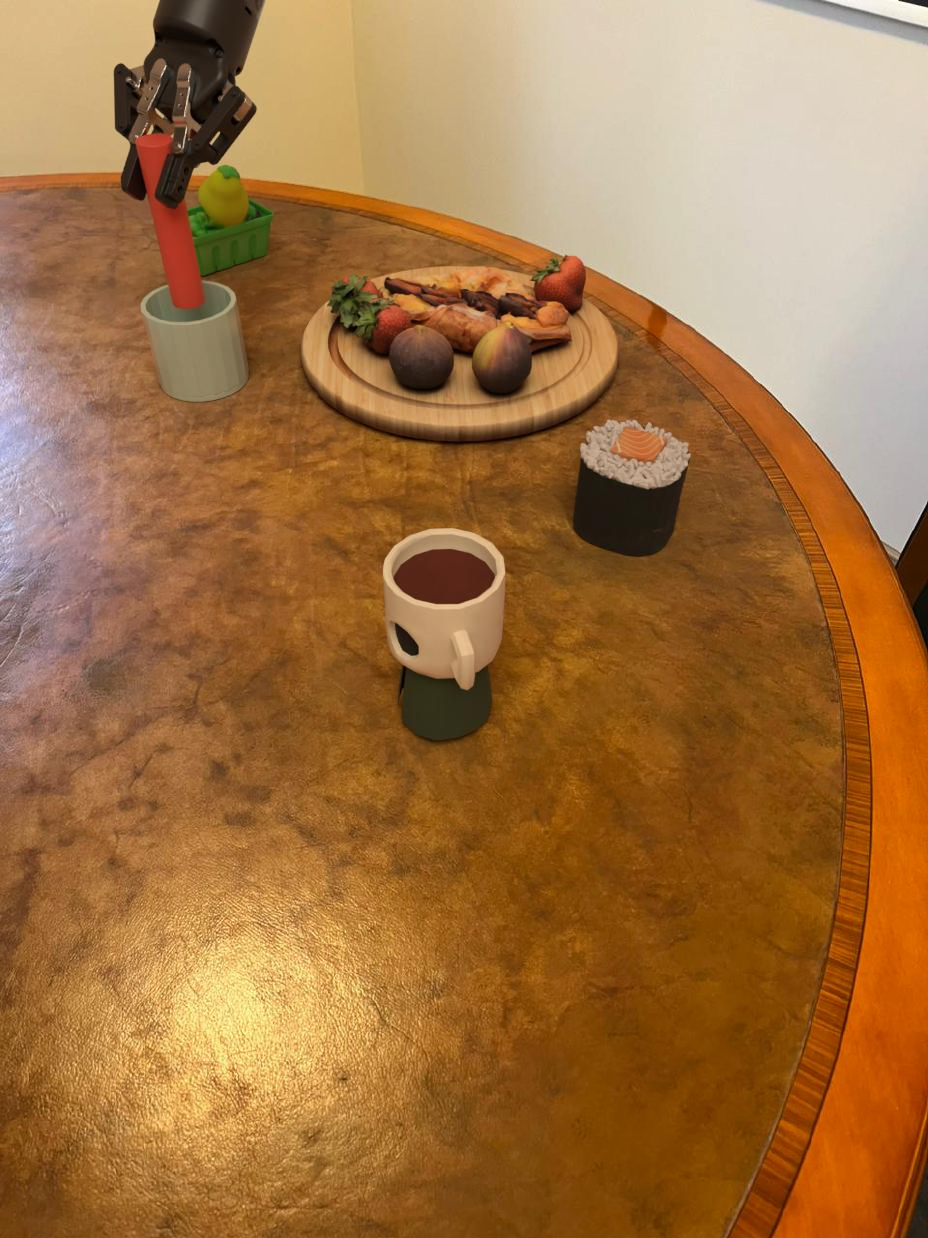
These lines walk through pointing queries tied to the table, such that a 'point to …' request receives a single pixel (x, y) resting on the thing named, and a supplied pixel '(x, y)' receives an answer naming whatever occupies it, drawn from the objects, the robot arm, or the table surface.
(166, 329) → the tumbler
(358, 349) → the wooden plate
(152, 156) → the red cylindrical rod
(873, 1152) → the table surface
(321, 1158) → the table surface
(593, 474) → the sushi
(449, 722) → the character mug
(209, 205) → the fruit basket
